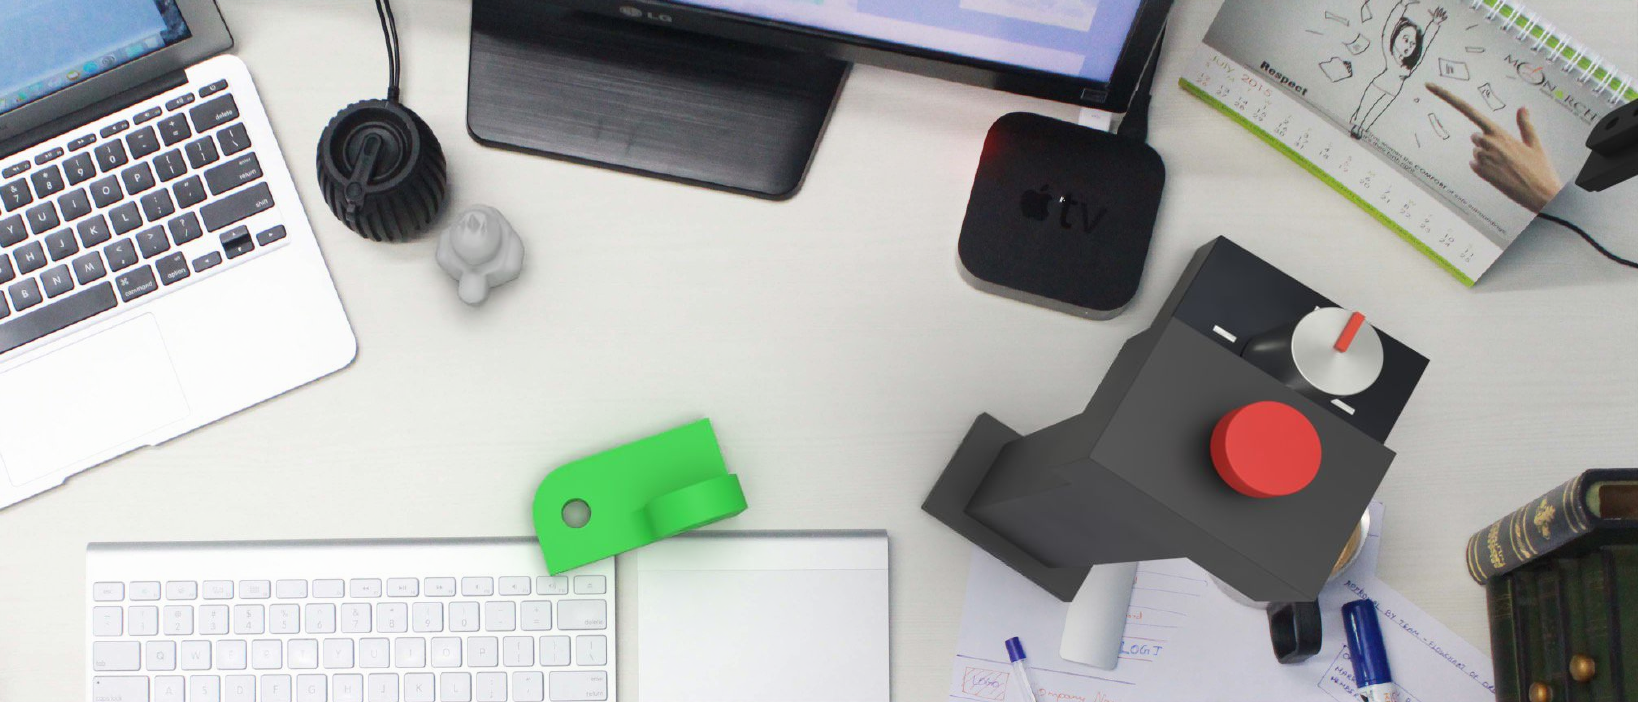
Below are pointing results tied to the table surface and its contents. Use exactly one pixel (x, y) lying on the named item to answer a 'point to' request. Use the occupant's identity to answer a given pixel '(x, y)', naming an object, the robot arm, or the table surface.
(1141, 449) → the button stand
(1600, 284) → the table surface
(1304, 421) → the button
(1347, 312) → the dial
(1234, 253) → the dial panel
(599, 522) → the mechanical part
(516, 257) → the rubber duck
